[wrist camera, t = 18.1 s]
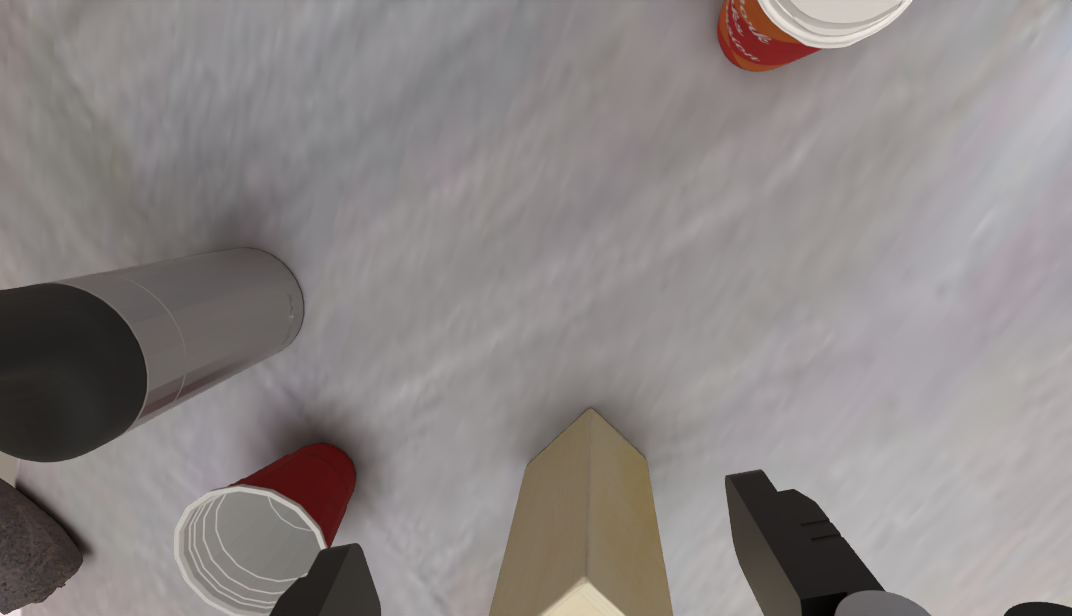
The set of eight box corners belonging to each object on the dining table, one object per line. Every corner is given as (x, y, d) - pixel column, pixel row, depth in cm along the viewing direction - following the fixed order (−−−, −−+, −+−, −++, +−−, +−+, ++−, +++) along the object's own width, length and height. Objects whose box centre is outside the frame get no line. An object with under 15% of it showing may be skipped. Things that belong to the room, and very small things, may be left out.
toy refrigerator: (586, 525, 50) (577, 764, 29) (523, 467, 49) (471, 669, 29) (654, 466, 48) (696, 675, 28) (590, 405, 48) (585, 572, 27)
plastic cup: (335, 552, 53) (260, 657, 41) (244, 472, 52) (142, 555, 40) (412, 476, 51) (356, 565, 39) (318, 391, 50) (233, 455, 38)
